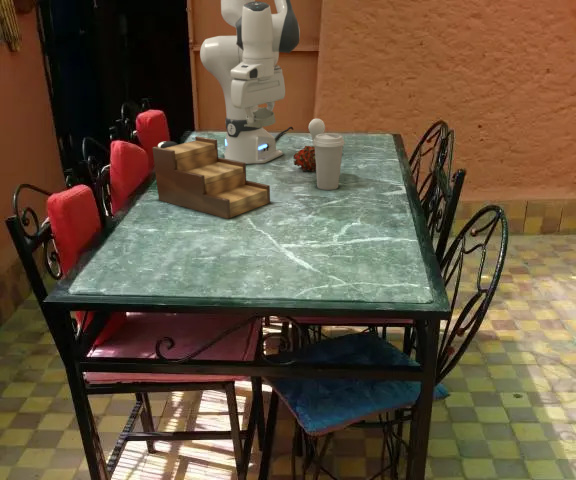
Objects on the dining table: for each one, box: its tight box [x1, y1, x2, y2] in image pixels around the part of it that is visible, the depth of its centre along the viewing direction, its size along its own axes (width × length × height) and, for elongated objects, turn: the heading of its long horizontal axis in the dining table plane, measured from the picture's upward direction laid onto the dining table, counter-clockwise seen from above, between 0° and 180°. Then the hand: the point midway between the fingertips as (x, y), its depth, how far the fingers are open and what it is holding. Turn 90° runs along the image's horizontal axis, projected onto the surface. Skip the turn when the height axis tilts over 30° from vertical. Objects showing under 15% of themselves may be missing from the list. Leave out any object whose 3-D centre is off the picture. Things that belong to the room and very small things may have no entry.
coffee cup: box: [312, 132, 346, 191], centre depth 193 cm, size 10×10×15 cm
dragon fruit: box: [292, 145, 316, 172], centre depth 212 cm, size 8×8×12 cm
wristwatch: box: [246, 106, 277, 128], centre depth 188 cm, size 9×6×5 cm
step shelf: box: [152, 135, 271, 220], centre depth 182 cm, size 18×28×15 cm, turn 51°
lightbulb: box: [307, 118, 326, 146], centre depth 235 cm, size 6×6×11 cm
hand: (260, 120), depth 189 cm, fingers closed on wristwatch, 6 cm apart
